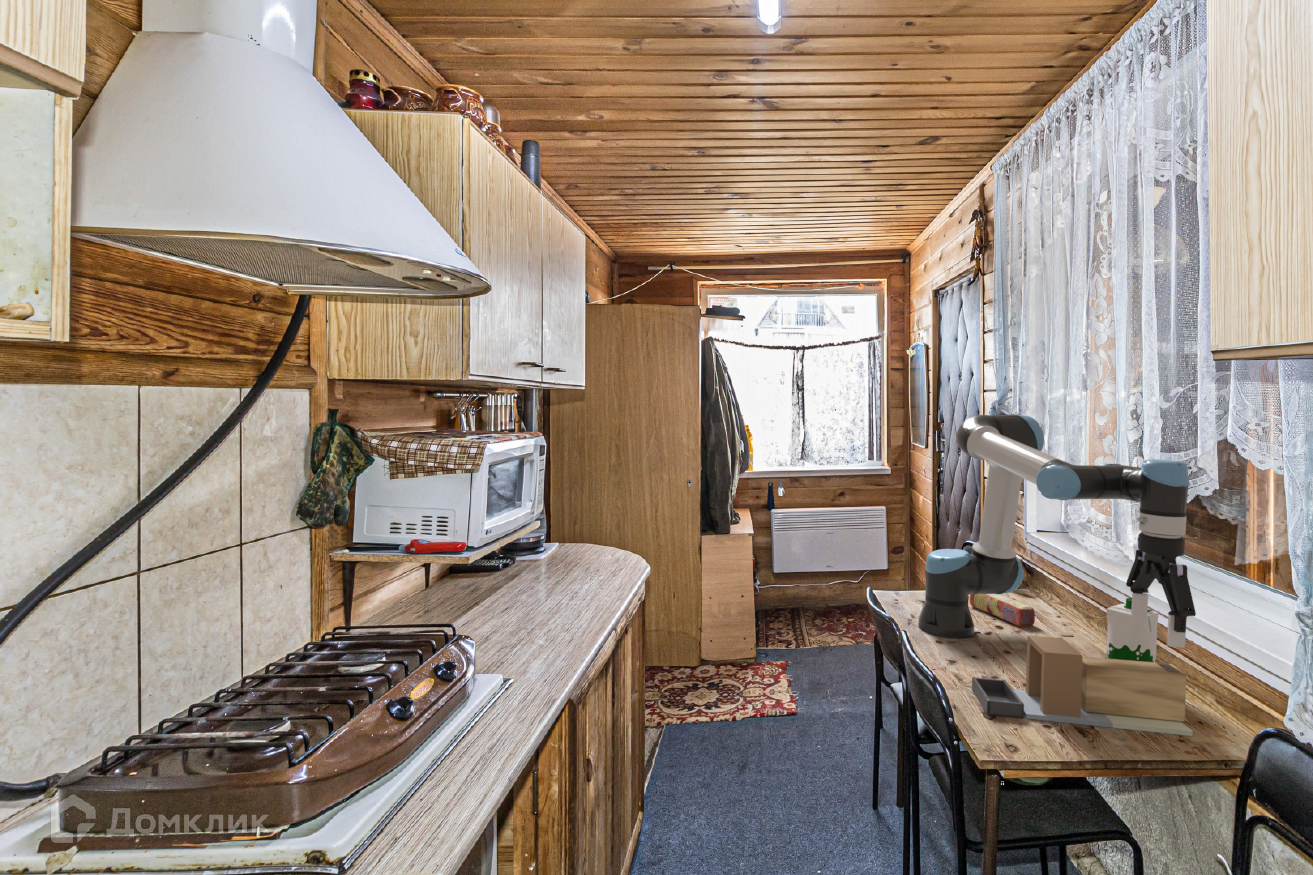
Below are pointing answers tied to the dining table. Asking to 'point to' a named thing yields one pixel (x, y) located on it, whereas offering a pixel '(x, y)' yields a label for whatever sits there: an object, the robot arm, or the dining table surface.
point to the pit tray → (997, 697)
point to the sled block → (1133, 688)
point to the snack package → (1004, 608)
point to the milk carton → (1131, 634)
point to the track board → (1072, 691)
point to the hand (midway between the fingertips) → (1156, 634)
